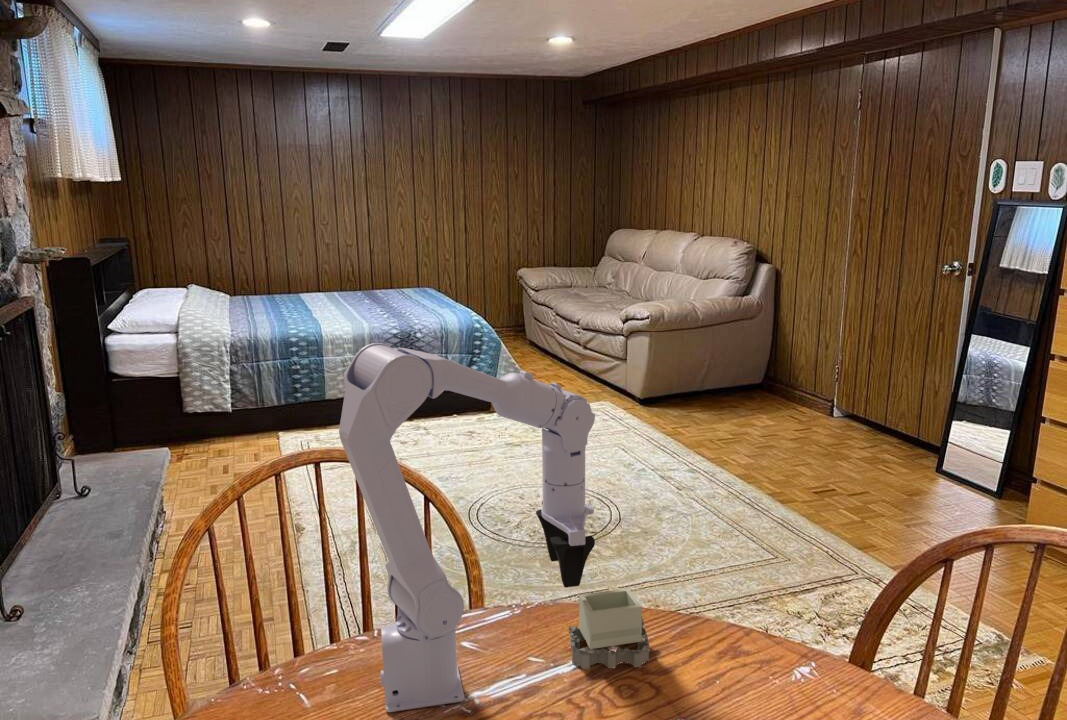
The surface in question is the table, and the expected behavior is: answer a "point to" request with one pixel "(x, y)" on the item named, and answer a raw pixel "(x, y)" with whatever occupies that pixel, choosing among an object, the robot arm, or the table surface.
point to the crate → (610, 618)
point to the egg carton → (607, 652)
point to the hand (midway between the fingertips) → (564, 572)
